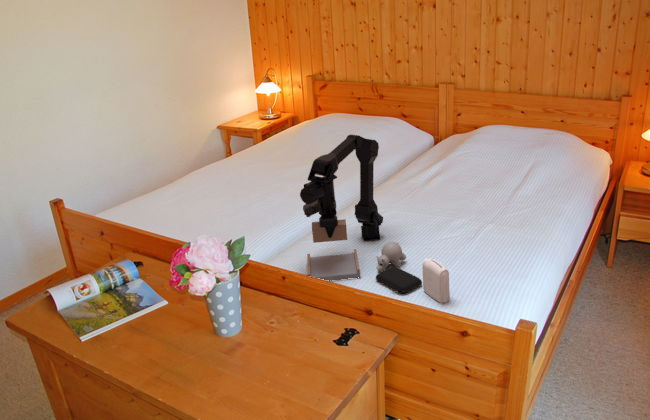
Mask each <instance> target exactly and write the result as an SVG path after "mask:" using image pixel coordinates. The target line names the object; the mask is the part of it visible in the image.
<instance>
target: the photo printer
mask: <svg viewBox="0 0 650 420" xmlns="http://www.w3.org/2000/svg"><path fill="white" fill-rule="evenodd" d="M449 272H450V271H449V270H448V269H447V267H446V266H445V265H444V264H443V263H441V262H440V261H438V260H437V259H434V258H430V257H429V258H428V257H427V258H425V259H424V260H423V262H422V287H423V288H422V289H423V291H424V292H425V293H426V294H427V295H428V296H430V297H431V298H432V299H434V300H435V301H437V302H438V303H441V304H443V303H448V301H449V300H450V273H449Z"/></svg>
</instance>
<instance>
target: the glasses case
mask: <svg viewBox="0 0 650 420" xmlns="http://www.w3.org/2000/svg"><path fill="white" fill-rule="evenodd" d="M337 220H338V226H336V227H335V230H334V233H333V235H332V238H329V237H328V235H327V232H326V229H325V227H323V228H321V227H320V225H319V221H312V222H311V232H312V243H314V244H315V243H325V242H326V243H328V242H329V243H330V242H339V241H347V240H348V232H347V221H346V218H345V219H344V218H343V219H337Z"/></svg>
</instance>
